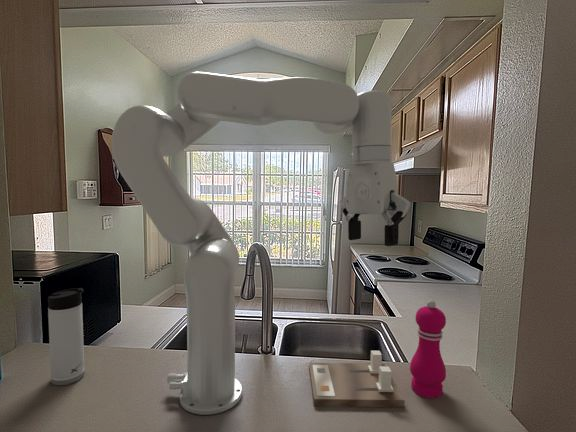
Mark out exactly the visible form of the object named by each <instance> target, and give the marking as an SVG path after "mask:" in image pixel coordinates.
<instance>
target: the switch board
mask: <svg viewBox="0 0 576 432" xmlns="http://www.w3.org/2000/svg"><path fill="white" fill-rule="evenodd" d="M308 365H309V366H308V370H309V372H308V373H309V379H310V385H311V394H312V401H313V407H340V408H341V407H345V408H346V407H349V408H351V407H353V408H354V407H355V408H366V407H367V408H405V399H404V396H403V395H402V393H401V391H400V389H399V388H398V386H397V384H396V382H395V381H394V379H393V377H392V376H391V386H392V387H393V392H379V391H378V389H377V387H376V383H378V382H379V374H377V373H370V372H369V369H368V365H370V363H362V362H361V363H360V362H359V363H353V362H350V363H349V362H348V363H346V362H345V363H344V362H338V363H337V362H309V363H308ZM381 366H386V364H385V363H381Z"/></svg>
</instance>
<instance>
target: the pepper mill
mask: <svg viewBox="0 0 576 432" xmlns="http://www.w3.org/2000/svg"><path fill="white" fill-rule="evenodd" d="M436 304H437V303H436V301H435V300H433V299H429V300H428V301H426V305H425V306H422V307H420V308H419V309H417V311H416V313H415V316H414V317H415V323H416V324H417V325H418V327H417V332H416V334H417V336H418V339H419V340H418V345H417V348H416V351H415V352H414V355H413V356H412V358H411V361H410V363H409V365H410V366H409V371H410V374H411V375H412V377H411V382H410V383H411V385H410V387H411V389H412V391H414V393H415V394H416V395H418V396H421V397H424V398H428V399H437V398H440V397H442V395H443V388H444V386H443V382H444V381H445V380H446V377H447V373H446V372H447V369H446V366H445V363H444V360H443V357H442V354H441V348H440V347H441V346H440V345H441V344H440V343H441V340H442V339H443V333H444V332H443V329H444V328H445V326H446V323H447V319H446V318H447V317H446V315H445V313H444V312H443V311H442V310H441V309H440V308H438V307H436V306H437V305H436Z"/></svg>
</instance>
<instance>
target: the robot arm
mask: <svg viewBox="0 0 576 432" xmlns="http://www.w3.org/2000/svg"><path fill="white" fill-rule="evenodd" d="M176 95H177V101H178V104H176V105H175V106H174V107H172V109H170V110H169V111H167V112H166V113H165V112H164V111H162V110H161V109H159V108H156V107H154V106H150V105H145V104H143V105H134V106H132V107H130V108H128V109H125V111H124V112H122V114H120V116H119V118H118V119H117V121H116V122H115V124H114V128H113V130H112V135H111V143H110V144H111V152H112V153H111V154H112V158H113V160H114V163H115V166H116V167H117V170H118V172H119V173H120V175H121V177H122V178H123V179H124V181H125V182H126V183H127V185H128V187H129V188H130V190H131V191H132V193H133V194H134V196H135V198H137V200H138V202H139V203H140V205H141V206H142V208H143V210H144V211H145V212H146V214H147V216H148V217H149V219H150V220H151V221H152V223H153V225H154V226H155V228H156V229H157V231H158V232H159V234H160V235H161V237H162V238H163V239H164V240H165V242H166V243H168V244H170V245H172V246H173V247H174V246H175V247H186V249H187V250H188V252H189V253H190V255H189V257H188V259H187V261H186V263H185V266H184V270H183V283H184V284H183V285H184V293H185V300H186V301H185V303H186V327H187V328H186V335H187V336H186V341H187V342H186V347H187V349H186V350H187V353H186V354H187V355H186V356H187V357H186V358H187V365H186V366H187V367H186V368H187V371H185V372H183V373H168V375H167V377H166V378H167V379H166V383H167V384H169V386H168V388H169V390H180V393H179V403H180V406H181V407H182V408H183V409H184V410H185V411H186V412H189V413H192V414H195V415H203V416H205V415H208V416H210V415H215V414H221V413H223V412H226V411H228V410H229V409H231V408H233V407H235V406H236V405H237V404H238V403H239V402H240V400H241V399H242V396H243V386H242V384H241V382H240V381H239V379H237V378H236V376H235V373H236V364H235V363H236V300H235V299H236V298H235V297H236V296H235V295H236V294H235V281H236V280H235V279H236V278H235V277H236V273H237V269H238V267H239V265H240V254H239V250H238V248H237V246H236V244H235V243H234V241H233V240H232V237H231V236H230V235H229V234H228V232H227V230H226V229H225V227H224V226H223V224H222V223H221V222H220V220H219V218H218V216H217V215H216V214H215V212H214V210H213V209H212V208H211V207H210V206H209V205H208V204H207V203H206V202H205V201H204V200H201V199H199V198H196V197H193V196H190V194H189V193H188V191H187V190H186V189H185V187H184V186H183V184H182V183H181V181H180V179H179V177H178V176H177V175H176V173H175V172H174V171H173V170H172V168H171V167H170V166H169V164H168V163H167V161H166V160H165V157H166V158H167V157H173V156H175V155H177V154H179V153H181V152H183V151H184V150H186V149H187V148H188V147H190V146H191V145H192V144H194V143H195V142H196V141H198V140H199V139H200V138H202V137H203V136H204V135H206V134H207V133H208V132H210V131H211V130H212V129H214V128H215V127H216V126H218V125H219V123H221V122H229V123H237V124H242V125H243V124H244V125H249V126H250V125H251V126H268V125H270V124H273V123H277V122H283V121H298V122H299V121H301V122H309V123H310V122H311V123H312V124H313V126H314V127H315V129H317V131H319V132H321V133H323V134H326V135H336V134H342V133H348V132H351V134H352V138H351V139H352V141H351V143H352V144H351V145H352V153H351V155H350V159H351V160H352V164H350V165H349V168H348V174H347V180H346V191H345V192H346V193H345V197H343V198H342V199H340V201H339V203H340V205H341V208H342V213H343V215H344V216H345V220H346V222H347V224H348V225H347V226H348V227H347V229H348V230H347V233H348V235H347V236H348V240H349V241H355V240H361V239H362V221H361V220H360V218H361V216H362V215H371V216H373V215H374V216H378V215H381V216H382V218H383V219H384V221H385V222H386V224H384V246H385V247H392V246H398V244H399V231H400V230H399V225H401V224H402V222H403V220H405V218H406V217H407V216H408V215H407V213H408V211H409V209H410V207H411V202H410V201H409V200H408V199H407V198H405V197H403V196H401V195H400V194H398V183H397V182H398V181H397V175H396V167H395V164H394V162H392V97H391V95H390V94H389V92H387V91H385V90H384V91H383V90H378V89H377V90H372V89H371V90H366V91H362V92H359V93H357V92H356V90H355V89H353V87H351V86H350V85H348V84H347V83H344V82H341V81H338V80H330V79H322V78H317V77H316V78H315V77H303V76H295V77H293V76H291V77H290V76H289V77H281V78H270V79H269V78H268V79H262V78H261V79H260V78H259V79H258V78H252V77H243V76H236V75H235V76H234V75H229V74H221V73H213V72H205V71H192V72H189V73H187V74H185V75H184V76H182V77H181V79H180V80H179V82H178V84H177V89H176ZM397 209H398V210H397Z"/></svg>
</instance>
